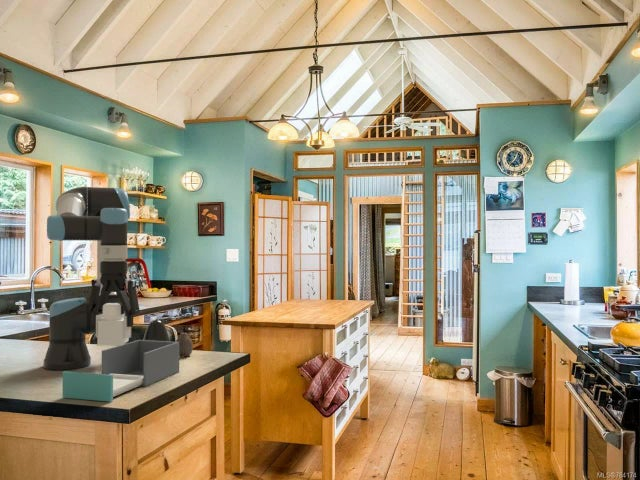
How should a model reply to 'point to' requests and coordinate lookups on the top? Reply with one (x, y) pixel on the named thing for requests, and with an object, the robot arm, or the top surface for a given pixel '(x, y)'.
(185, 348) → the vase
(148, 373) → the bay
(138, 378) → the tray
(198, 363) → the top surface
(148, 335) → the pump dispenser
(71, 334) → the robot arm
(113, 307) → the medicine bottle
